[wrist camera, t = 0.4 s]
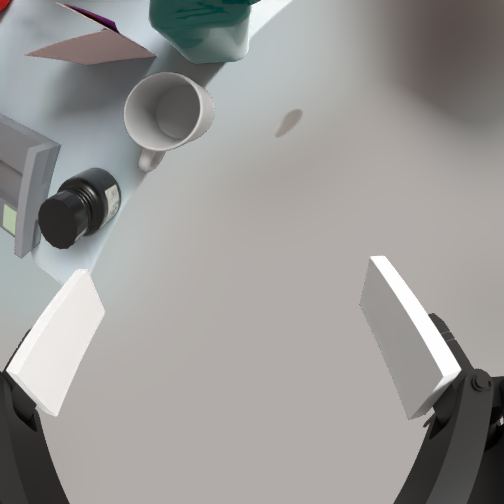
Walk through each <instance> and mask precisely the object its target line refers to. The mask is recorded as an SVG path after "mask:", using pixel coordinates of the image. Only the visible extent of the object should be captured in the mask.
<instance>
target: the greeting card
mask: <svg viewBox="0 0 504 504" xmlns="http://www.w3.org/2000/svg"><path fill="white" fill-rule="evenodd" d="M50 1H51V0H50ZM53 2H54V1H53ZM55 3H56V2H55ZM57 4H59V3H57ZM64 4H65V5H67V6H68V7H70V8H68V7H66V6H64V5H62V6H64V7H66V8H68V9H70V10H72V11H74V12H76V13H78V14H80V15H82V16H84V17H86V18H88V19H90V20H92V21H94V22H96V23H98V24H100V25H101V26H103V27H105V28H107V29H109V30H104V31H99V32H95V33H90V34H86V35H82V36H79V37H75V38H71V39H68V40H65V41H61V42H58V43H55V44H52V45H49V46H47V47H44V48H41V49H38V50H36V51H33V52H31V53H28V54H26V56H36V57H44V58H51V59H58V60H64V61H70V62H75V63H80V64H85V65H92V64H97V63H103V62H110V61H117V60H125V59H134V58H145V57H157V56H155V55H154V54H152V53H151V52H149V51H148V50H147V49H145V48H144V47H142V46H140V45H139V44H137V43H136V42H134V41H132V40H131V39H129V38H127V37H126V36H124V35H122V34H121V33H119V31H118V30H117V28H116V25H115V22H113V21H111V20H109V19H106V18H104V17H101V16H99V15H96V14H94V13H91V12H89V11H86V10H83V9H80V8H78V7H75V6H72V5H69V4H66V3H64ZM59 5H61V4H59ZM71 8H72V9H71ZM79 12H80V13H79Z"/></svg>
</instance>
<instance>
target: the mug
mask: <svg viewBox="0 0 504 504" xmlns="http://www.w3.org/2000/svg"><path fill="white" fill-rule="evenodd" d="M214 115H215V105H214V101H213V99H212V97H211V95H210V94H209V93H208V91H207V90H206V89H205V88H203V87H202V86H200V85H198V84H197V83H195V82H194V81H192V80H191V79H189V78H188V77H186V76H184V75H182V74H179V73H175V72H159V73H155V74H152V75H150V76H148V77H146V78H144V79H143V80H141V81H140V82H139V83H138V84H137V85H136V86H135V87H134V88H133V89H132V91H131V92H130V94H129V96H128V97H127V100H126V102H125V106H124V124H125V127H126V130H127V132H128V134H129V135H130V137H131V138H132V139H133V140H134V141H135V142H136V143H137V144H138V145H140V146H141V147H143V149H142V152H141V155H140V158H139V161H138V167H139V169H140V170H142V171H144V172H150V171H152V170H153V169H155V168H156V167H157V166H158V164H159V163H160V162H161V160H162V158H163V156H164V154H165V152H166V151H168V150H171V149H175V148H177V147H180V146H182V145H184V144H186V143H188V142H190V141H193V140H195V139H197V138H198V137H200V136H202V135H203V134H204V133H205V132H206V131H207V130H208V129H209V127H210V126H211V124H212V122H213V119H214Z"/></svg>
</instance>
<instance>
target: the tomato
mask: <svg viewBox="0 0 504 504" xmlns="http://www.w3.org/2000/svg"><path fill="white" fill-rule="evenodd" d="M9 2H10V0H0V12H1V11H2V10H3V9H4V8H5V7H6V6H7V4H8V3H9Z"/></svg>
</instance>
